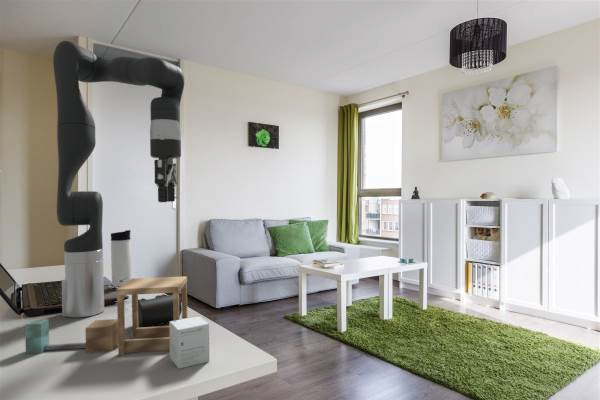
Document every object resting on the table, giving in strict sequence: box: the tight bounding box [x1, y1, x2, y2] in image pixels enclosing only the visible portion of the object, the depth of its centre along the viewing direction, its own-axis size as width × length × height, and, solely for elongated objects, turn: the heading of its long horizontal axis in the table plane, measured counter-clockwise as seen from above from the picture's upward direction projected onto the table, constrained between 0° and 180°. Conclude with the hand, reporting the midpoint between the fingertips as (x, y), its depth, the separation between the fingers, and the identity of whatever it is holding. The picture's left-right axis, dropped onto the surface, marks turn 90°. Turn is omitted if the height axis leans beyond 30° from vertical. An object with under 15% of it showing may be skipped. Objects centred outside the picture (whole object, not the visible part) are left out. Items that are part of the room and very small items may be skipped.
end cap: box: [138, 293, 182, 328], centre depth 97 cm, size 10×7×7 cm
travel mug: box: [110, 229, 132, 288], centre depth 137 cm, size 6×7×20 cm
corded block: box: [24, 318, 118, 355], centre depth 82 cm, size 17×5×6 cm, turn 97°
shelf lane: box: [115, 275, 189, 356], centre depth 84 cm, size 12×10×13 cm
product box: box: [168, 316, 210, 370], centre depth 76 cm, size 6×6×7 cm
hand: (166, 201), depth 102 cm, fingers open, 8 cm apart
